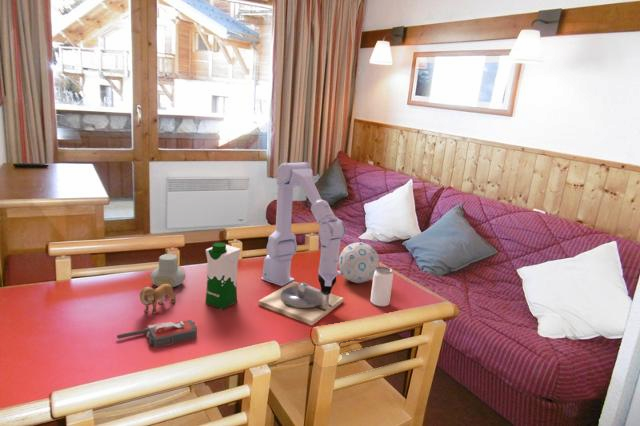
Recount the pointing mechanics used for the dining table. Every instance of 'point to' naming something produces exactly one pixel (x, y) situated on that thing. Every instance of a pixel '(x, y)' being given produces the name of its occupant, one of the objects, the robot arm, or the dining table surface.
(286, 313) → the stand plate
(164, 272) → the air freshener
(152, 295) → the lion figurine
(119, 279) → the dining table surface
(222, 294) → the milk carton
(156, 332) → the walkie-talkie
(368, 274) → the puzzle ball
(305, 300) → the dial
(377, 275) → the can
